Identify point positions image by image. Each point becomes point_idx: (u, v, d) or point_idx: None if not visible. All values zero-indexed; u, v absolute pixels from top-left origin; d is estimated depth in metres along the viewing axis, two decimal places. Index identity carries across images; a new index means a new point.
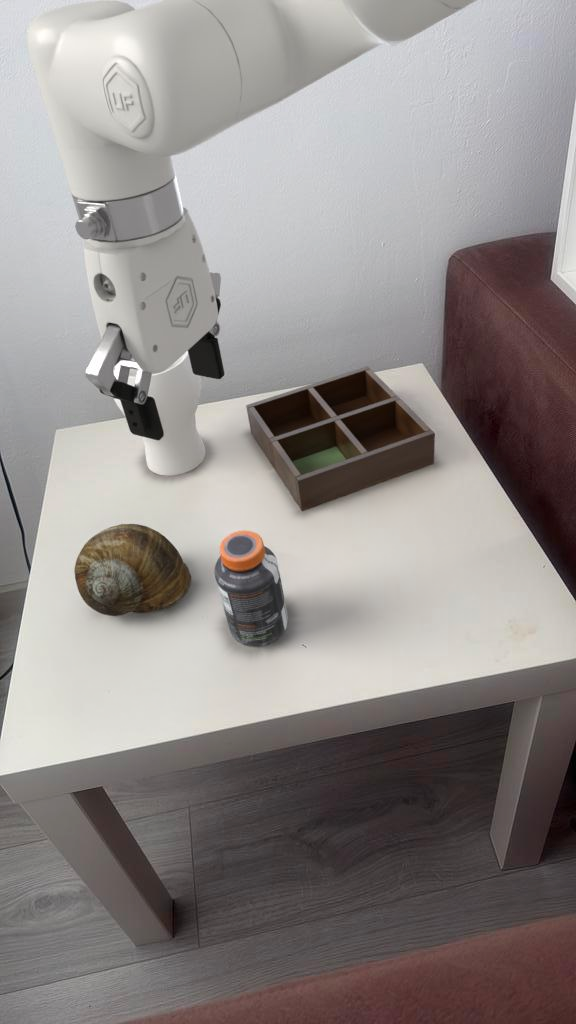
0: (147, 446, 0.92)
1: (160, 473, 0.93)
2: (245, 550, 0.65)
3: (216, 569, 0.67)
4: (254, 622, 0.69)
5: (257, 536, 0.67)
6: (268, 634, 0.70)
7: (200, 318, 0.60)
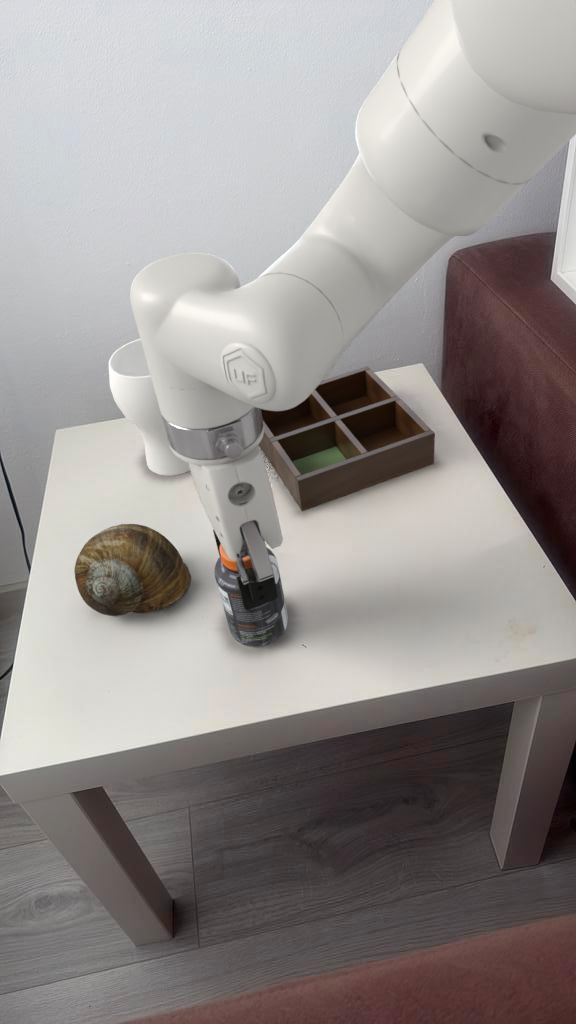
0: (147, 446, 0.92)
1: (160, 473, 0.93)
2: None
3: (215, 569, 0.67)
4: (254, 622, 0.69)
5: None
6: (268, 634, 0.70)
7: None
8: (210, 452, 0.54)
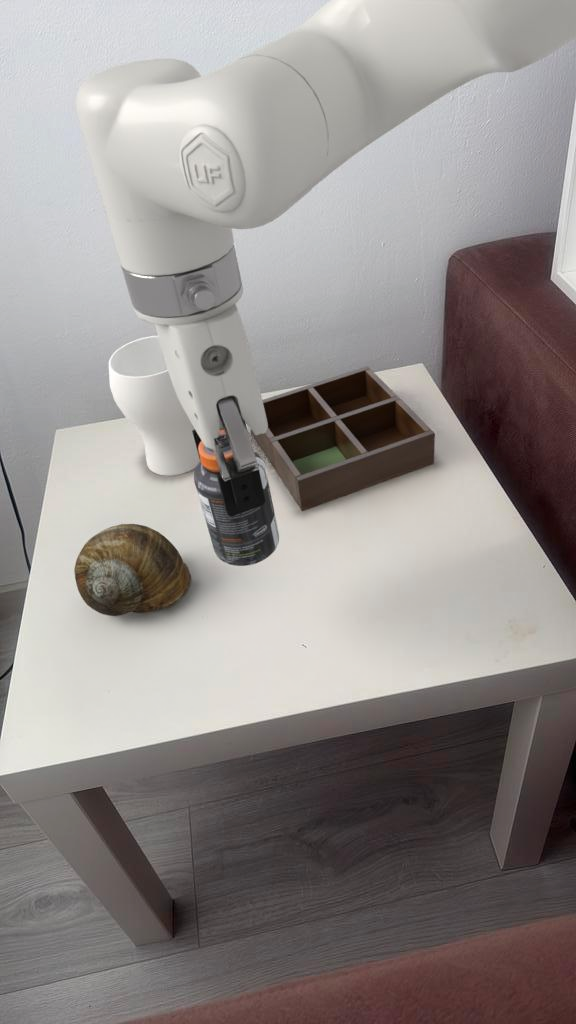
0: (147, 446, 0.92)
1: (160, 473, 0.93)
2: (227, 447, 0.57)
3: (195, 473, 0.60)
4: (240, 535, 0.61)
5: None
6: (256, 550, 0.62)
7: None
8: (178, 306, 0.46)
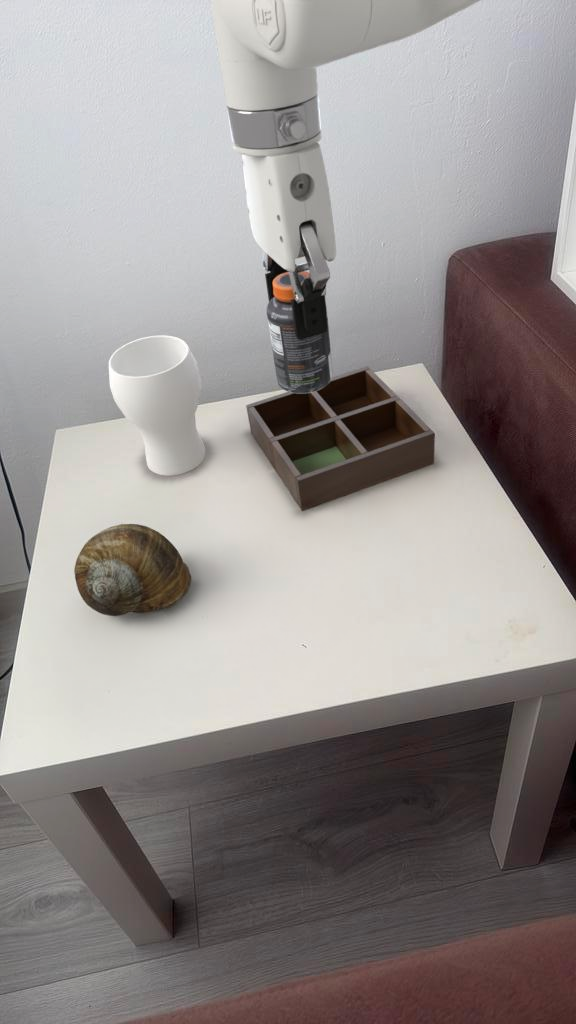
0: (147, 446, 0.92)
1: (160, 473, 0.93)
2: None
3: (268, 307, 0.72)
4: (304, 362, 0.73)
5: (307, 273, 0.71)
6: (316, 378, 0.74)
7: None
8: (275, 138, 0.58)
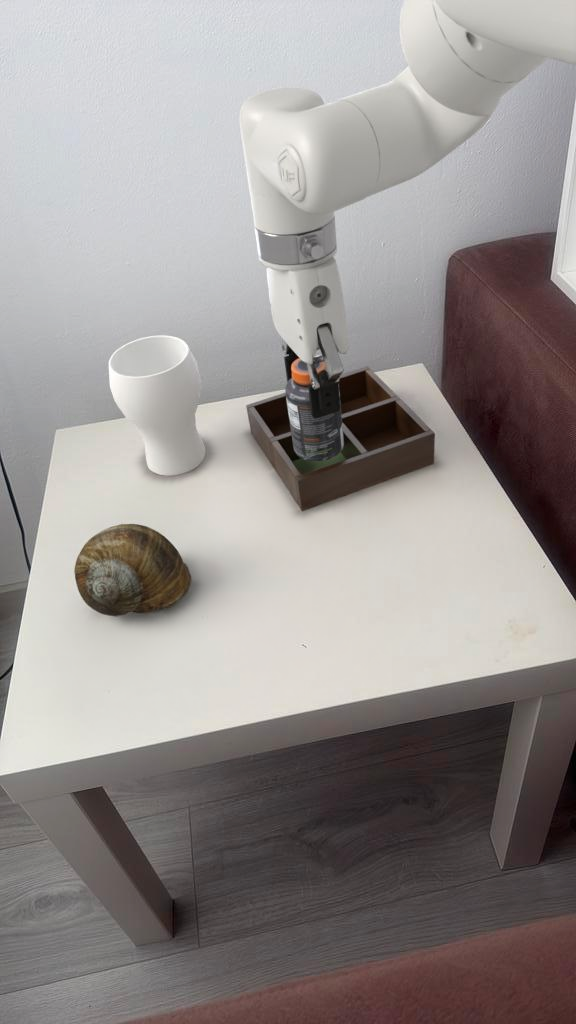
0: (147, 446, 0.92)
1: (160, 473, 0.93)
2: None
3: (287, 388, 0.80)
4: (318, 435, 0.81)
5: None
6: (329, 449, 0.83)
7: None
8: (297, 257, 0.67)
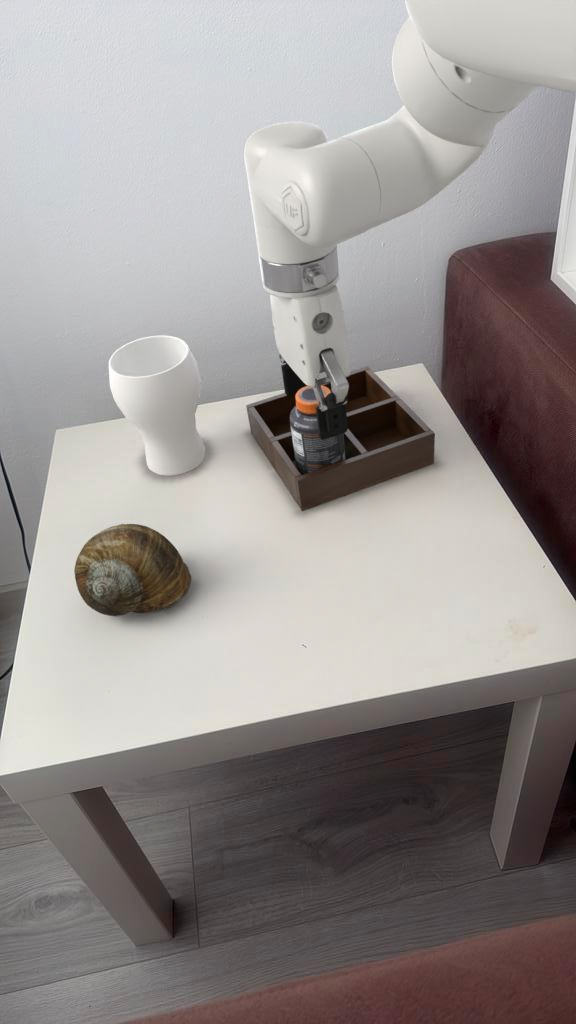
0: (147, 446, 0.92)
1: (160, 473, 0.93)
2: None
3: (291, 416, 0.83)
4: (322, 462, 0.84)
5: (325, 388, 0.82)
6: None
7: None
8: (300, 285, 0.69)
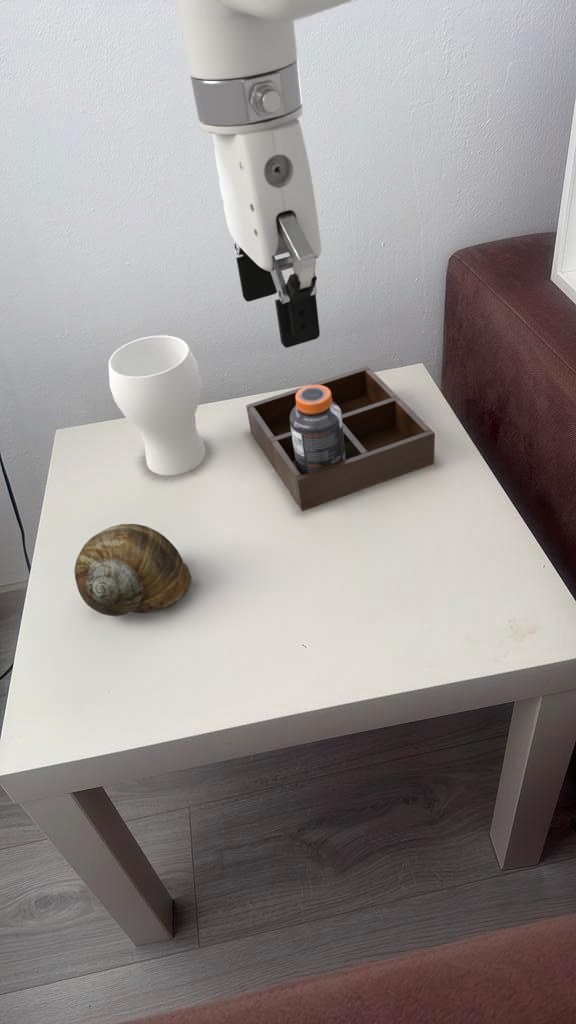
0: (147, 446, 0.92)
1: (160, 473, 0.93)
2: (317, 396, 0.80)
3: (291, 416, 0.83)
4: (322, 462, 0.84)
5: (325, 388, 0.82)
6: None
7: None
8: (245, 113, 0.49)
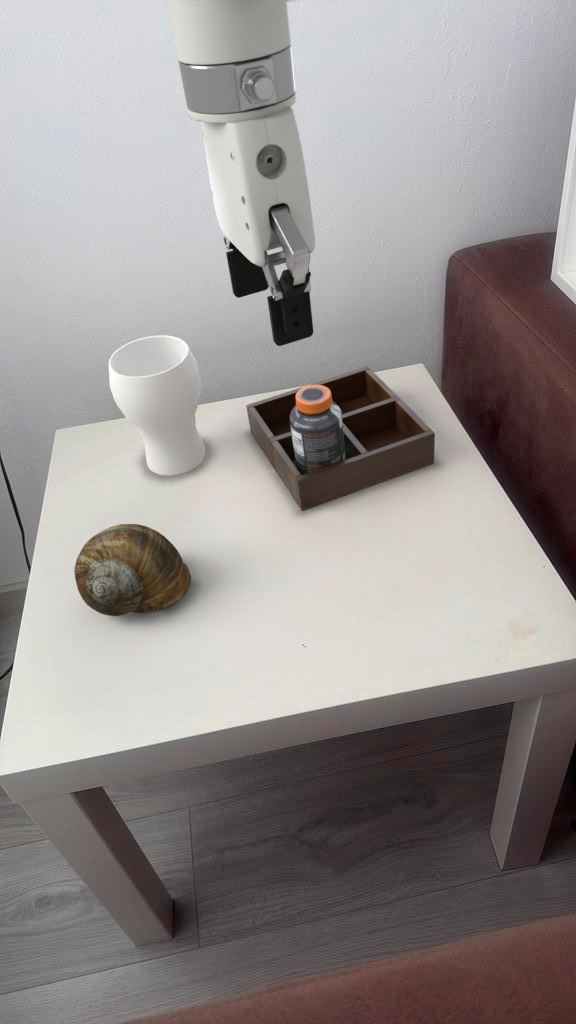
0: (147, 446, 0.92)
1: (160, 473, 0.93)
2: (317, 397, 0.80)
3: (291, 416, 0.83)
4: (322, 462, 0.84)
5: (326, 388, 0.82)
6: None
7: None
8: (236, 100, 0.47)
